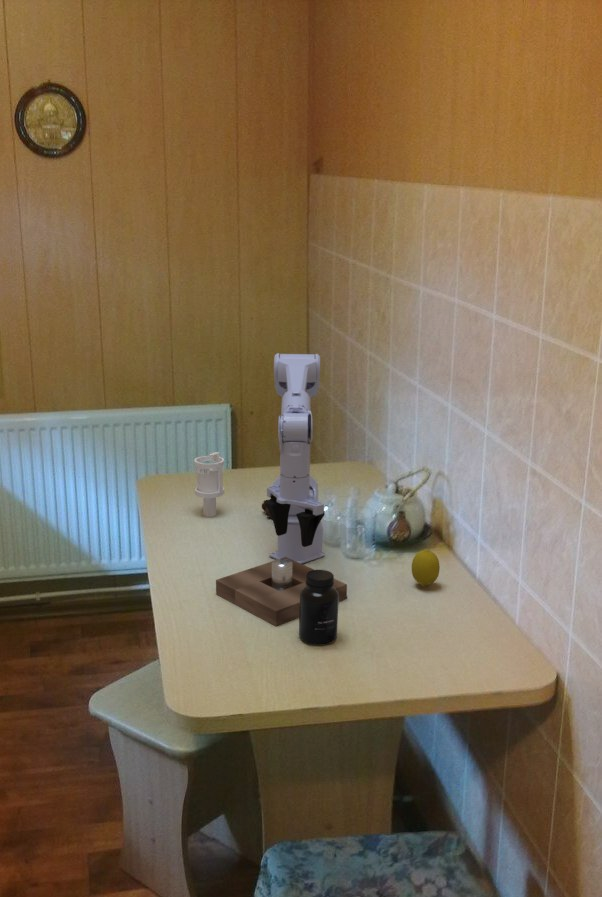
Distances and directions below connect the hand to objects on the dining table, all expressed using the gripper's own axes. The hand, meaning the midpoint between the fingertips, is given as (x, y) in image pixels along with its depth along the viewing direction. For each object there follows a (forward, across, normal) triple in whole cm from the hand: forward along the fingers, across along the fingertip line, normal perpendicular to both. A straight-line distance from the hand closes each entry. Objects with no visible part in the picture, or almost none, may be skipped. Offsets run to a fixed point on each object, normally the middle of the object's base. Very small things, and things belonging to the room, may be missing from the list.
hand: (294, 539), depth 183 cm
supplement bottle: (+10, +19, -11) cm, 24 cm away
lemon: (+10, +17, +20) cm, 28 cm away
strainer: (+10, -44, +12) cm, 47 cm away
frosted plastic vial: (+10, +2, -5) cm, 11 cm away
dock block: (+10, +2, -5) cm, 11 cm away
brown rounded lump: (+10, -30, +22) cm, 38 cm away
